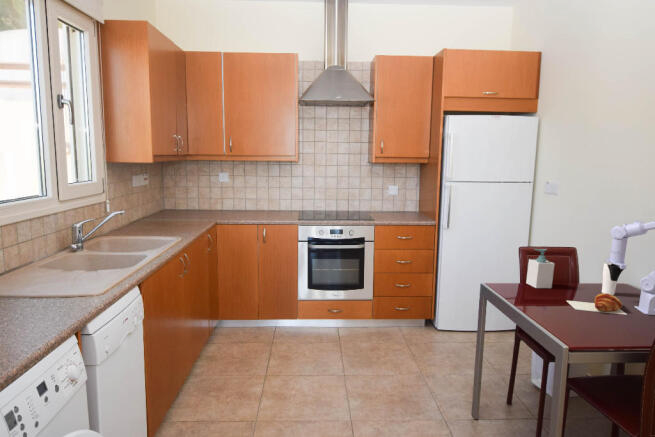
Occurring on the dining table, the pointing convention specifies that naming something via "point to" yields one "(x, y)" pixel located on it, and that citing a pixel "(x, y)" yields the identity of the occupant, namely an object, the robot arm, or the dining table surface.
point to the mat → (591, 307)
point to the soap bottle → (540, 271)
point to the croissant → (607, 302)
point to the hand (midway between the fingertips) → (613, 280)
